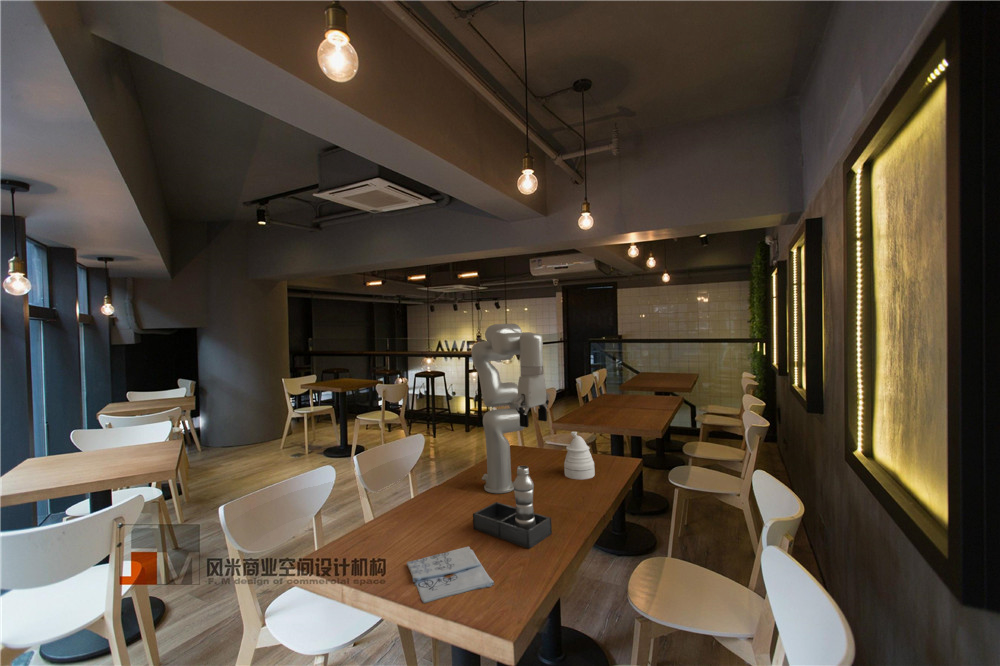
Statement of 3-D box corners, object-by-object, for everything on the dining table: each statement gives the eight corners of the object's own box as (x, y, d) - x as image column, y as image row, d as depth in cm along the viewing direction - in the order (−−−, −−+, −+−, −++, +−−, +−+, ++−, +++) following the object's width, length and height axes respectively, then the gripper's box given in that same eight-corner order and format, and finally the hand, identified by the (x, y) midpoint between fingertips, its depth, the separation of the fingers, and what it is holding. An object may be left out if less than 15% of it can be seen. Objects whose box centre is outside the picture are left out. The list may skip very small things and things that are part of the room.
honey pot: (558, 475, 190) (556, 434, 190) (575, 467, 199) (573, 428, 199) (584, 481, 181) (582, 437, 181) (600, 473, 191) (598, 431, 191)
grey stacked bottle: (538, 528, 138) (535, 464, 138) (532, 538, 132) (530, 471, 132) (518, 526, 140) (516, 463, 140) (512, 536, 134) (509, 470, 134)
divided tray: (473, 529, 142) (472, 513, 142) (497, 516, 151) (496, 501, 151) (529, 549, 127) (528, 531, 127) (551, 533, 136) (551, 517, 136)
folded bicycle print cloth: (472, 551, 128) (471, 544, 128) (495, 588, 109) (495, 579, 109) (406, 566, 122) (405, 558, 122) (418, 608, 103) (418, 599, 103)
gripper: (538, 368, 152) (540, 417, 153) (505, 373, 139) (507, 427, 140) (556, 369, 147) (558, 420, 148) (524, 375, 134) (525, 430, 135)
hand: (533, 423), depth 144 cm, fingers open, 9 cm apart
